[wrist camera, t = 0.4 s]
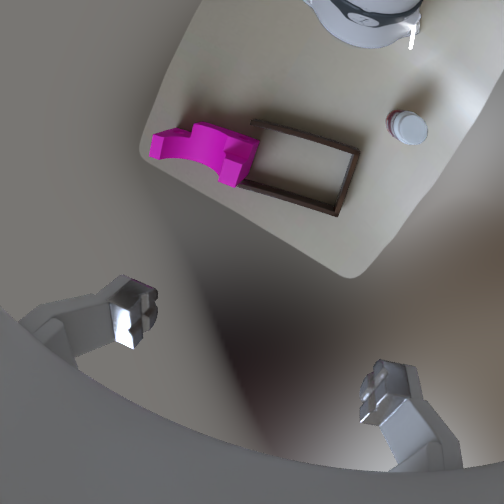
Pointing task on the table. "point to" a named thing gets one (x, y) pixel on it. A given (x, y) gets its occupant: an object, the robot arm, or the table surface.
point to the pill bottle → (406, 127)
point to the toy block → (209, 149)
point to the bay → (298, 198)
